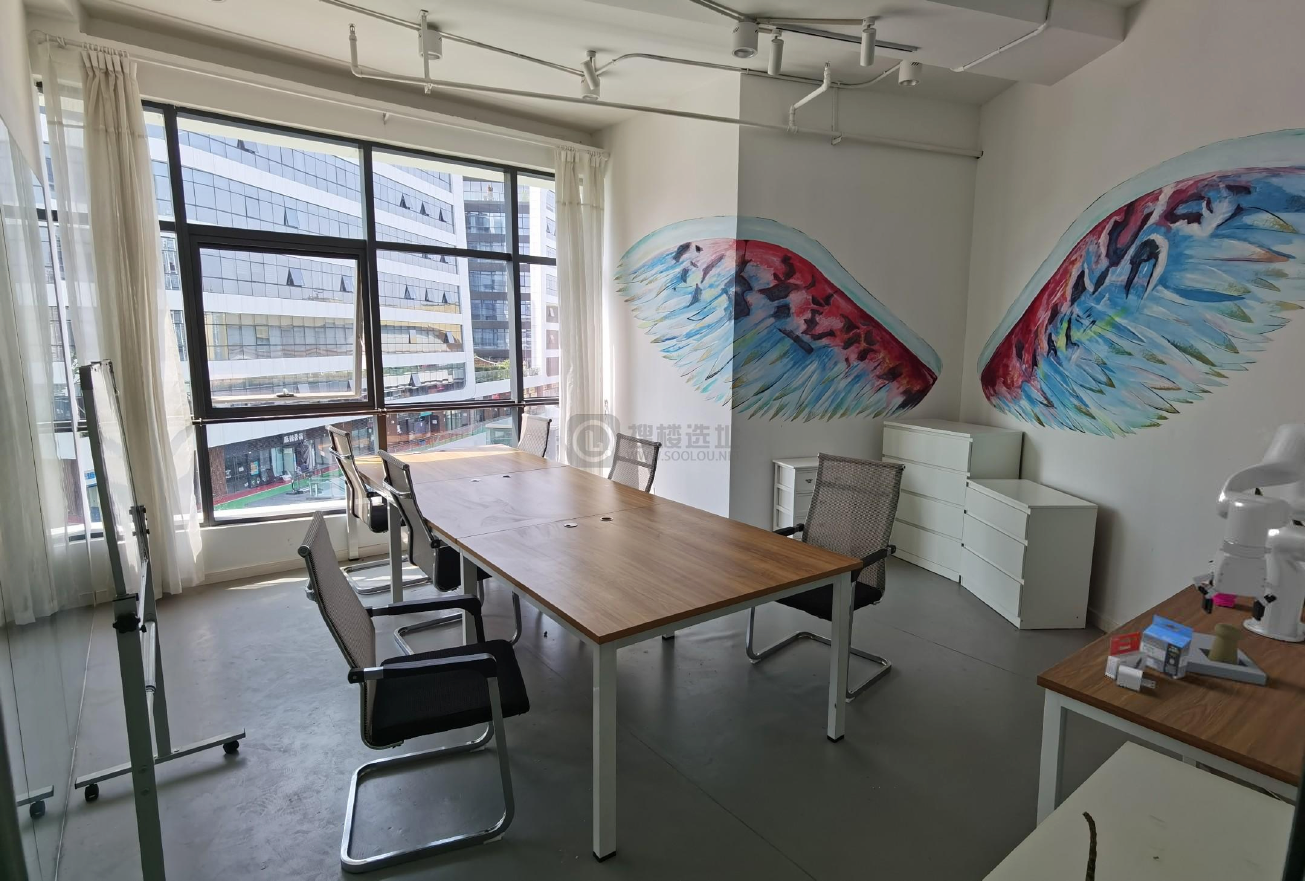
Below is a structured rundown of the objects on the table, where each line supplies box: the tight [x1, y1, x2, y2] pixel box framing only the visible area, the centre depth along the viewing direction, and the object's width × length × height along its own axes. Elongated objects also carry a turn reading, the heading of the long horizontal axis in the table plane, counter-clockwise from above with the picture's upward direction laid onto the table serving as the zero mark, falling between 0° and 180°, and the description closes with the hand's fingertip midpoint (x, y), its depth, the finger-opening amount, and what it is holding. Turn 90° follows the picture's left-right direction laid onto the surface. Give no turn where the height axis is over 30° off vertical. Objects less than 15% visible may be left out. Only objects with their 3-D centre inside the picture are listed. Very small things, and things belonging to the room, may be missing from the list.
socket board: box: [1173, 628, 1268, 686], centre depth 167 cm, size 16×22×2 cm
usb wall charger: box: [1115, 665, 1156, 692], centre depth 151 cm, size 4×7×4 cm, turn 50°
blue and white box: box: [1139, 614, 1194, 680], centre depth 159 cm, size 9×4×12 cm, turn 23°
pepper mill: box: [1212, 547, 1240, 608], centre depth 203 cm, size 7×7×20 cm
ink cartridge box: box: [1105, 631, 1148, 680], centre depth 157 cm, size 2×11×10 cm, turn 111°
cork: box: [1208, 622, 1243, 665], centre depth 162 cm, size 6×6×11 cm
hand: (1231, 615), depth 161 cm, fingers open, 9 cm apart
